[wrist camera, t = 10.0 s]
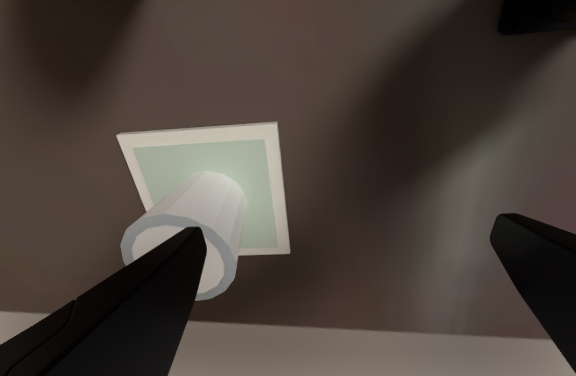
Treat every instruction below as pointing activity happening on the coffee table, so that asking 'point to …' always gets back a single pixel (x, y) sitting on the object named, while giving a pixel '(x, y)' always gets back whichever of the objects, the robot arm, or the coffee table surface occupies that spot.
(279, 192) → the plate
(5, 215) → the coffee table surface
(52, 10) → the coffee table surface
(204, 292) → the white-topped cylinder
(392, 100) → the coffee table surface
